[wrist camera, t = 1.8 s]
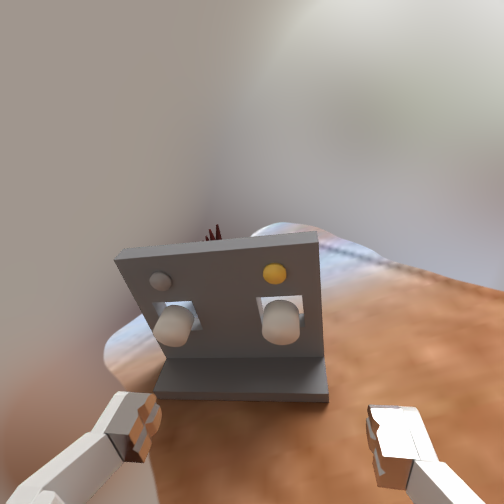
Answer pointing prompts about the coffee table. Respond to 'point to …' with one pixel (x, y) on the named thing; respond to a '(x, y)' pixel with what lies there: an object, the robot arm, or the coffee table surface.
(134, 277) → the control panel
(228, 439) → the coffee table surface
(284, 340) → the beige rounded lump
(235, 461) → the coffee table surface
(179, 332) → the unlit button
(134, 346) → the coffee table surface
